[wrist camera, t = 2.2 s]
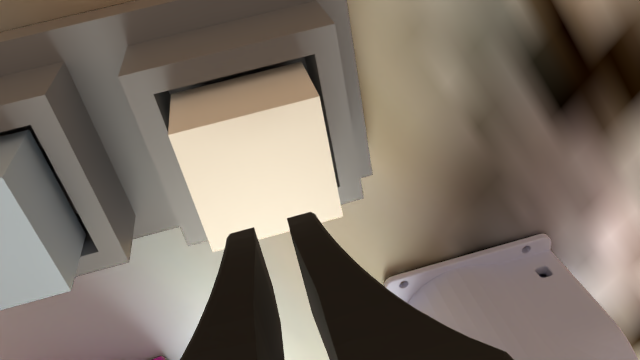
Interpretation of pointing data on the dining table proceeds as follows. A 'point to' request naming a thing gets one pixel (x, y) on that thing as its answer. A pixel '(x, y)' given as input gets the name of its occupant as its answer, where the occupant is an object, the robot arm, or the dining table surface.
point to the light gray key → (34, 226)
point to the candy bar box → (160, 358)
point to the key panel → (163, 101)
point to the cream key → (254, 152)
